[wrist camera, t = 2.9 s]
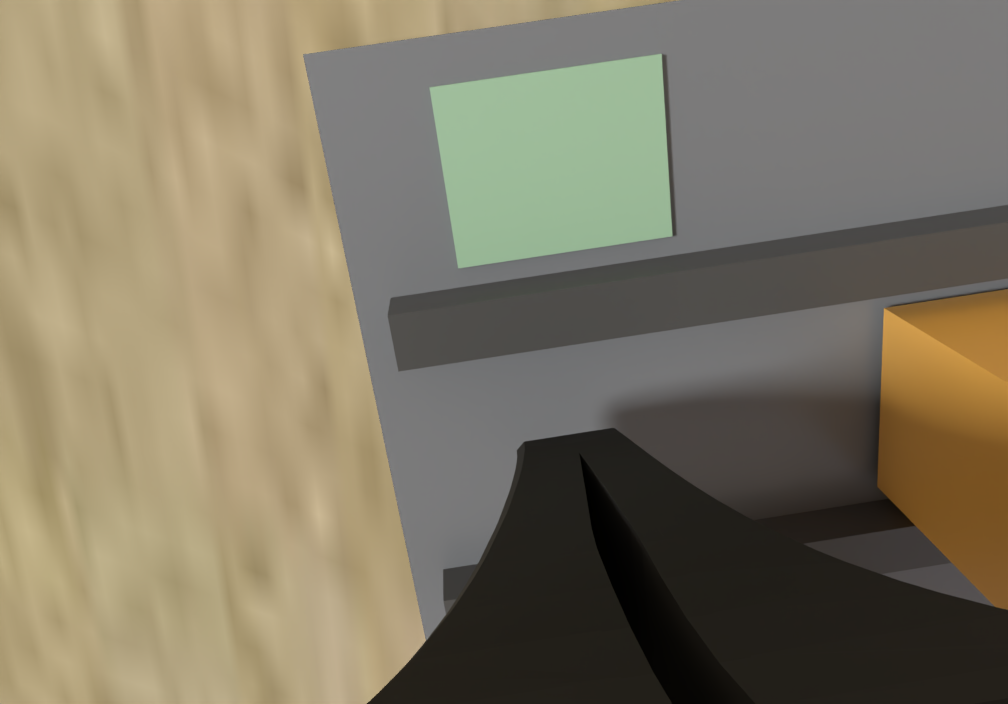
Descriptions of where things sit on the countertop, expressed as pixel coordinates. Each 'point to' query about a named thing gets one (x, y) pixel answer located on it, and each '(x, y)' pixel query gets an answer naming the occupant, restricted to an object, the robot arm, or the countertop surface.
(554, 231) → the switch panel
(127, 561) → the countertop surface
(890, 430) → the knob
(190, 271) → the countertop surface
